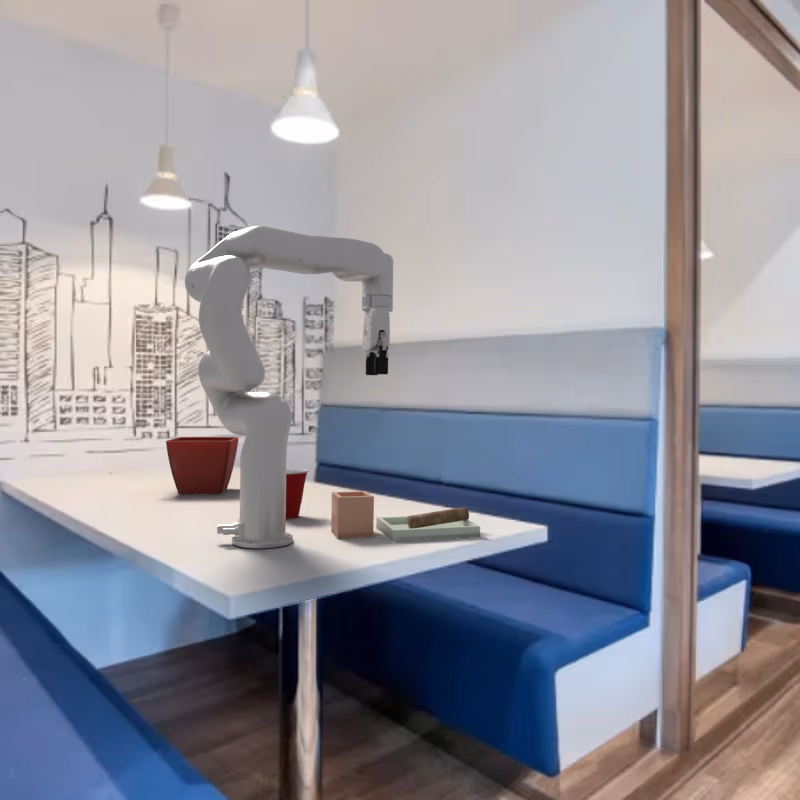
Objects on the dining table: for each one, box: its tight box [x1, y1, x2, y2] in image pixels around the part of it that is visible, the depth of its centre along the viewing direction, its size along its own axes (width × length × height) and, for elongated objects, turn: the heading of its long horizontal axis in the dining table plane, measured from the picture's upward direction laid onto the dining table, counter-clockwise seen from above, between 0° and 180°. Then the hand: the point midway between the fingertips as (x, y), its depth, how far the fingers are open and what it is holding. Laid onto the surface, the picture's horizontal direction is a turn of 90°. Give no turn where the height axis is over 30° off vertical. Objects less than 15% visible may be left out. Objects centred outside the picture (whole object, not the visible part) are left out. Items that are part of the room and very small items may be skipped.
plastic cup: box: [286, 469, 310, 520], centre depth 168 cm, size 11×11×12 cm
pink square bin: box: [330, 490, 375, 540], centre depth 148 cm, size 8×8×9 cm
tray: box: [375, 515, 481, 543], centre depth 151 cm, size 20×15×2 cm
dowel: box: [407, 506, 470, 529], centre depth 152 cm, size 8×3×14 cm
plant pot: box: [165, 436, 239, 495], centre depth 207 cm, size 19×19×17 cm
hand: (376, 374), depth 162 cm, fingers open, 9 cm apart
